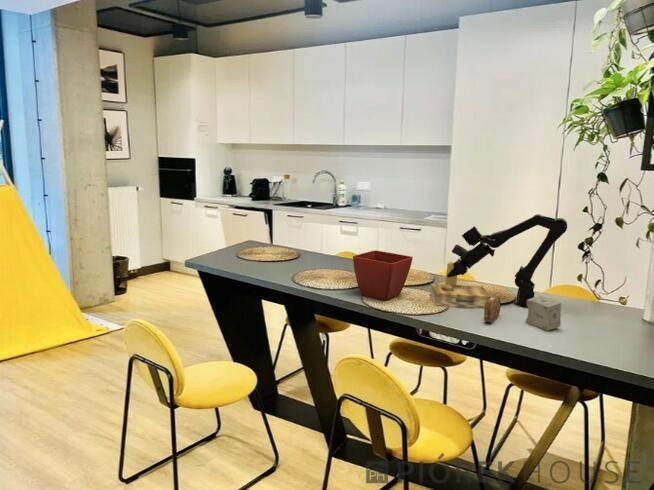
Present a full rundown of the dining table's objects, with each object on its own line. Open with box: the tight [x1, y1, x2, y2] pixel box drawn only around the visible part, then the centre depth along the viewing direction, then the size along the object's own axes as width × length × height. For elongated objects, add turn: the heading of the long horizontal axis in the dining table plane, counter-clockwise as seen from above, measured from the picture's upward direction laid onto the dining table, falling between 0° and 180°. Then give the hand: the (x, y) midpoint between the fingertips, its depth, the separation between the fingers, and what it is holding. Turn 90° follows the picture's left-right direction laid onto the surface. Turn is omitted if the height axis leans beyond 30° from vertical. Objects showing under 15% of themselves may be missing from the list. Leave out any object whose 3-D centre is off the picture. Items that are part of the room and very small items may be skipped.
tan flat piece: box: [429, 283, 493, 309], centre depth 216 cm, size 22×16×5 cm
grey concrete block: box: [525, 295, 562, 332], centre depth 191 cm, size 10×8×10 cm
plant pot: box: [352, 250, 413, 301], centre depth 220 cm, size 19×19×17 cm
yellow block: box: [444, 261, 458, 285], centre depth 228 cm, size 4×4×12 cm
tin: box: [483, 295, 502, 324], centre depth 196 cm, size 15×3×8 cm, turn 148°
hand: (448, 275), depth 228 cm, fingers closed on yellow block, 4 cm apart
